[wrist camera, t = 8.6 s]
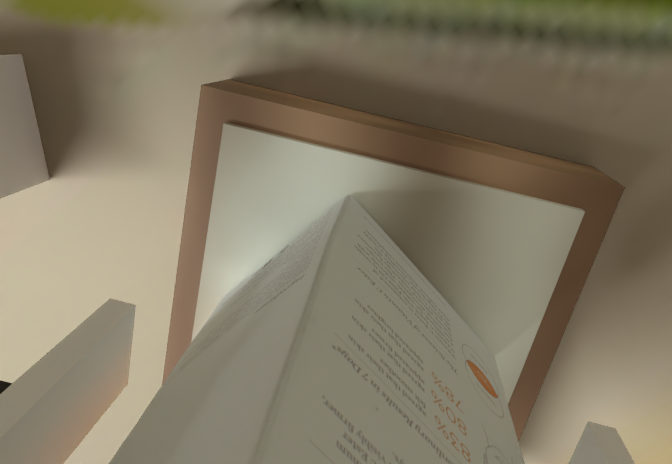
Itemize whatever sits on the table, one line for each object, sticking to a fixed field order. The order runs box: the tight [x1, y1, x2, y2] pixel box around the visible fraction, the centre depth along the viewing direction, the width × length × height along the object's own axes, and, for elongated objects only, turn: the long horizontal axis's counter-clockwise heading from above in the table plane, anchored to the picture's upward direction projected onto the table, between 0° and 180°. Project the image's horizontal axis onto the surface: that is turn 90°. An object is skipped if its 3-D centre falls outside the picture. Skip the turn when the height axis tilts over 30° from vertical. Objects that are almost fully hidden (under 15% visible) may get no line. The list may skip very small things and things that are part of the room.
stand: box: [162, 79, 625, 441], centre depth 21 cm, size 14×14×3 cm
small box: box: [109, 195, 524, 464], centre depth 14 cm, size 8×6×13 cm
